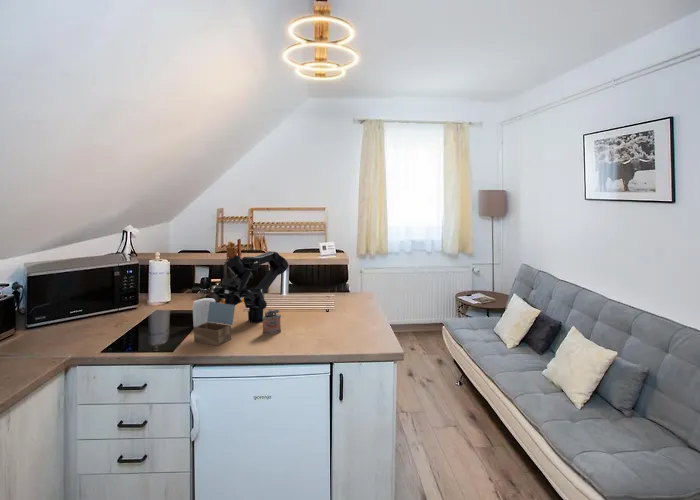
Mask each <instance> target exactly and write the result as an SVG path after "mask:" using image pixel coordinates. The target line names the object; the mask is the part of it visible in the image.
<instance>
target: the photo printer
mask: <svg viewBox="0 0 700 500" xmlns="http://www.w3.org/2000/svg"><path fill="white" fill-rule="evenodd" d="M210 302H215V303H217V302H216V299H214V298H212V297H211V298H209V297H207V298H206V297H204V298H200V299H197V300H194V301H193V303H192V321H193V324H192V325H193V328H194V327H196V326H199V325H201V324H204V323H206V322H208V321H207V320H208V312H209V305H210ZM211 323H214V322H211Z"/></svg>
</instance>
